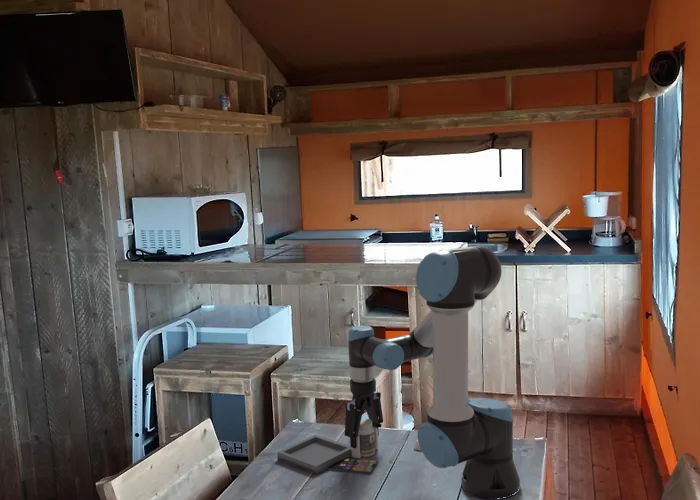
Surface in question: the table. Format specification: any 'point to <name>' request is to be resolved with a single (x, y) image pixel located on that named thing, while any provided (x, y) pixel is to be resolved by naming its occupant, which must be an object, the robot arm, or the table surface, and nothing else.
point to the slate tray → (315, 454)
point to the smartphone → (354, 466)
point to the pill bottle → (366, 438)
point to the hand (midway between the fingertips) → (365, 452)
